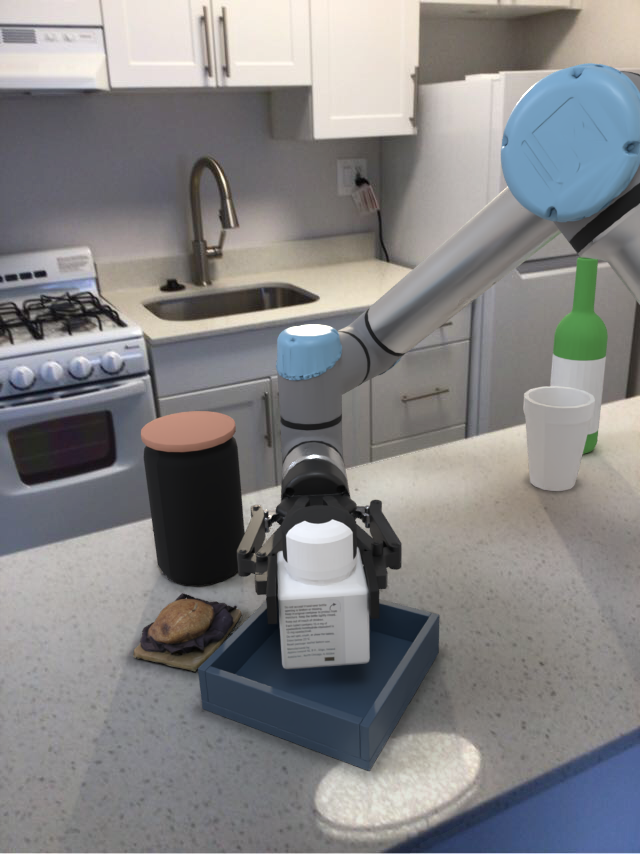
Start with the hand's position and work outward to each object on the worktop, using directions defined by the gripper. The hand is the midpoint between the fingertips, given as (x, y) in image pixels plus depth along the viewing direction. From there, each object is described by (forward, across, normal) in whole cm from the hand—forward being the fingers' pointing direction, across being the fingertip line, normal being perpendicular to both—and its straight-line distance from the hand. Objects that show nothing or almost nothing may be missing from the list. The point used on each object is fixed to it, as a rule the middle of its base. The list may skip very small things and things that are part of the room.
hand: (323, 607), depth 63 cm
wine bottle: (-57, -42, -12) cm, 71 cm away
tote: (-5, 0, -11) cm, 12 cm away
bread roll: (-13, +14, -12) cm, 22 cm away
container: (-5, 0, -7) cm, 9 cm away
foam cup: (-45, -35, -12) cm, 58 cm away
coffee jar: (-27, +14, -12) cm, 32 cm away
